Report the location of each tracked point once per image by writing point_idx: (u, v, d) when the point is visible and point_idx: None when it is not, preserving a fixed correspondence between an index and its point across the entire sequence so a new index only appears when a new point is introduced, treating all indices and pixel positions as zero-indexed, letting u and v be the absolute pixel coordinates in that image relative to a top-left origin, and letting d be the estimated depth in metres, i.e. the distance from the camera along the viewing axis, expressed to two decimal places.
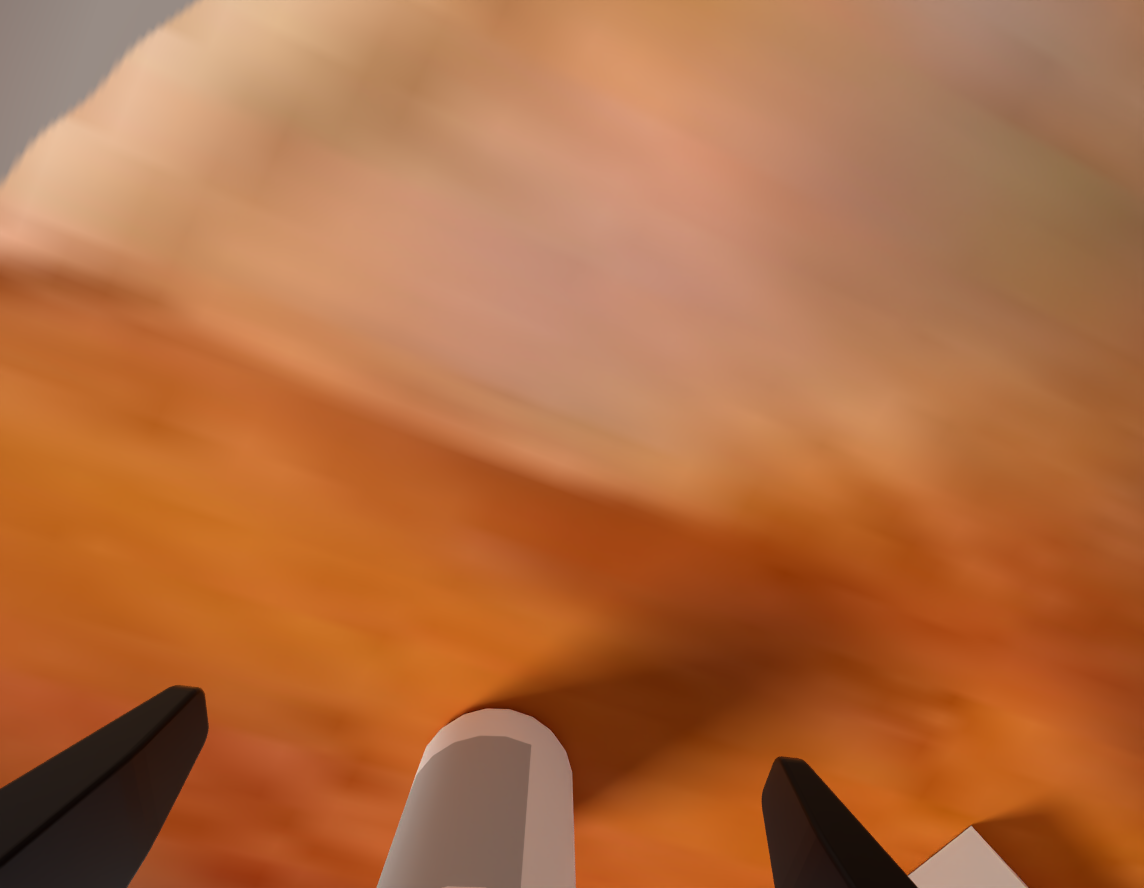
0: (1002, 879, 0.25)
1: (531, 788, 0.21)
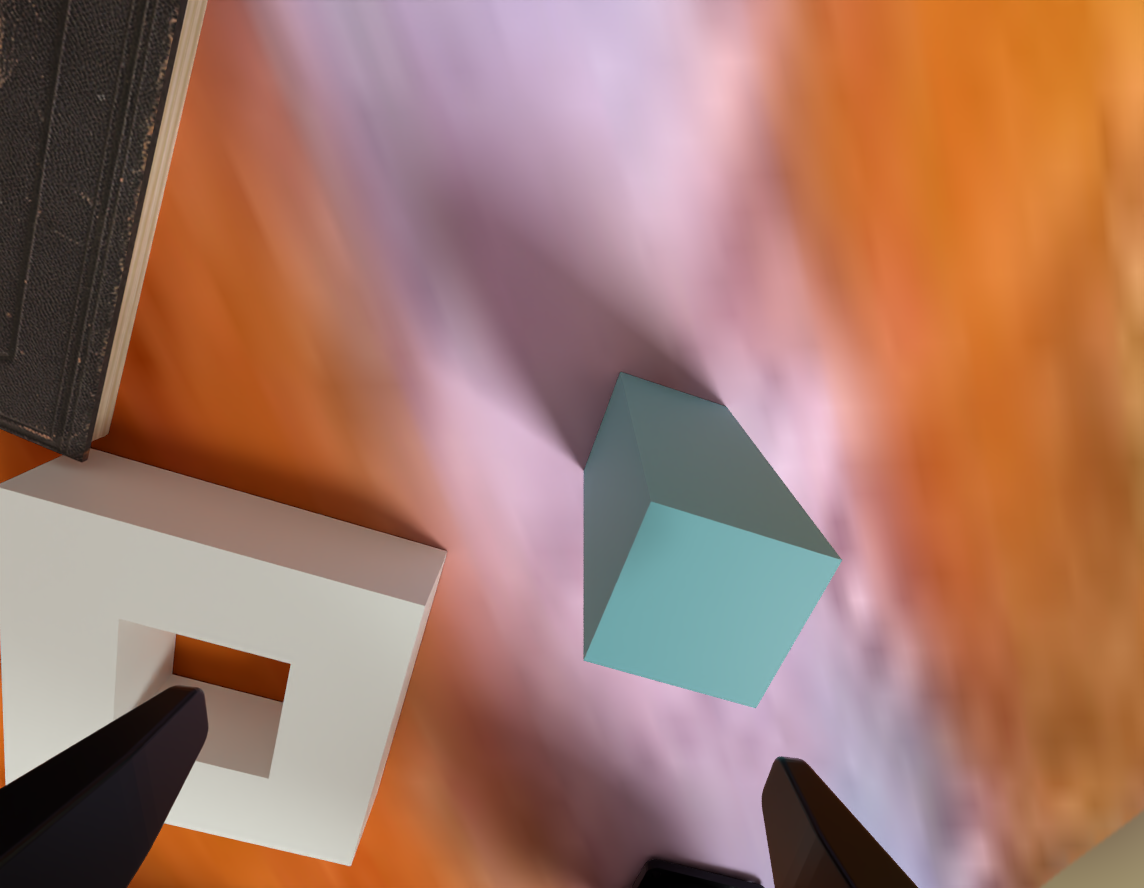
0: None
1: None
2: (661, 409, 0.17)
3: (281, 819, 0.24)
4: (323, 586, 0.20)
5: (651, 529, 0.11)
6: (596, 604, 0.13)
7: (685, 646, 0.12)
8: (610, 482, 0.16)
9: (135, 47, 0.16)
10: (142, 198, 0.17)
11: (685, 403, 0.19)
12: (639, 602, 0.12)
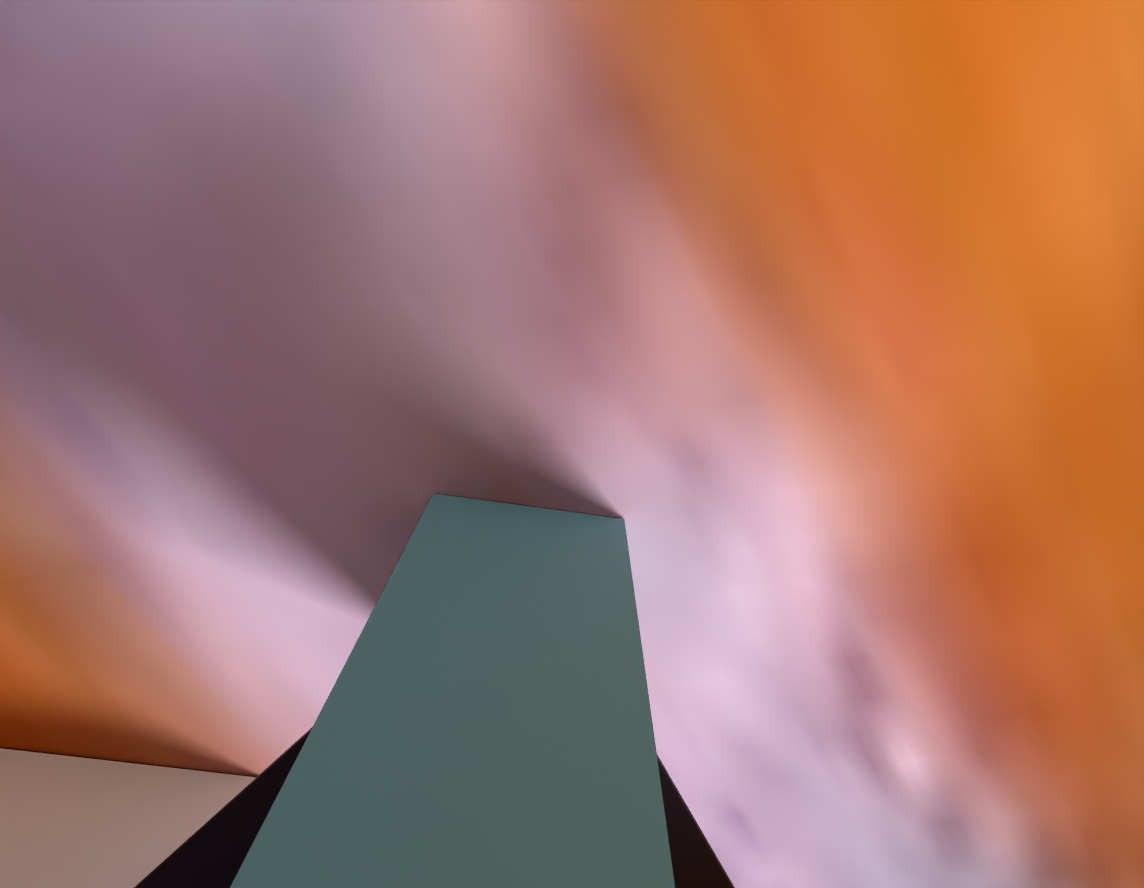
0: None
1: None
2: (456, 596, 0.09)
3: None
4: None
5: None
6: None
7: None
8: None
9: None
10: None
11: (532, 546, 0.11)
12: None
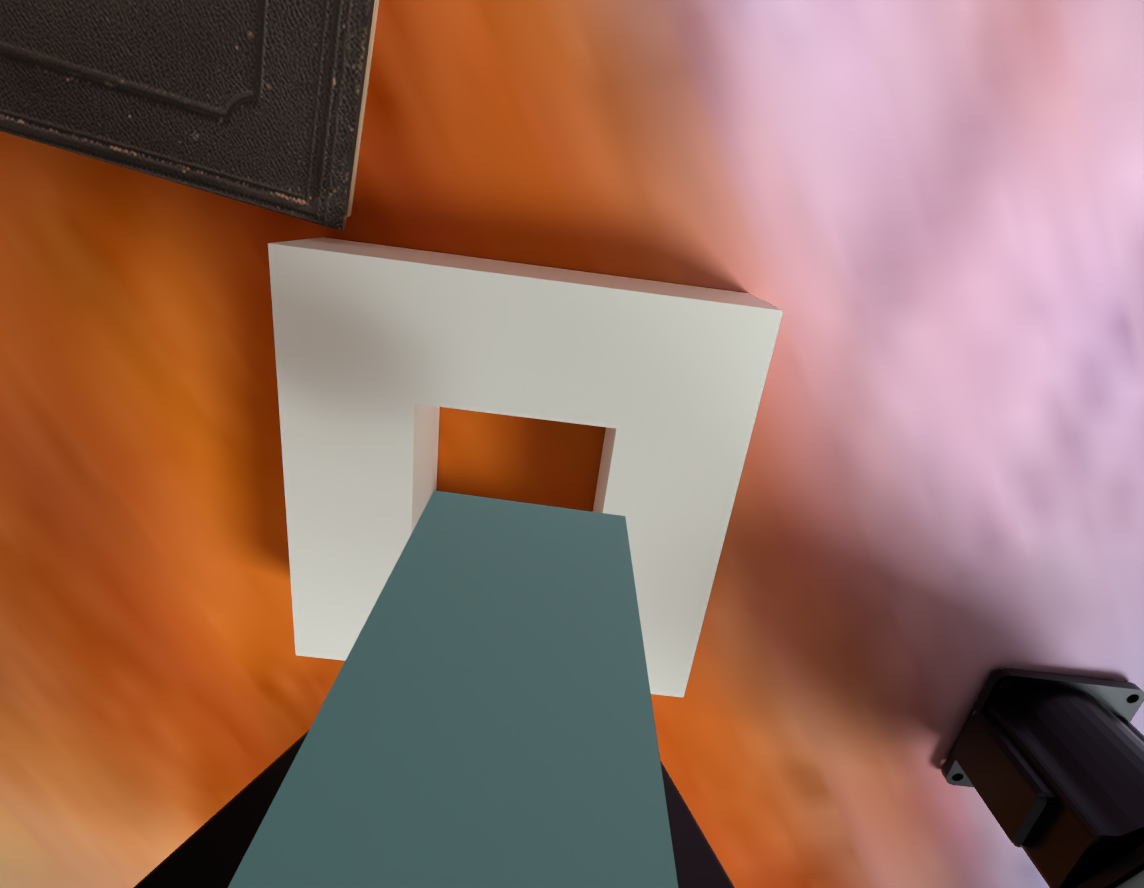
0: None
1: None
2: (457, 592, 0.09)
3: None
4: (658, 307, 0.16)
5: None
6: None
7: None
8: None
9: None
10: None
11: (533, 543, 0.11)
12: None
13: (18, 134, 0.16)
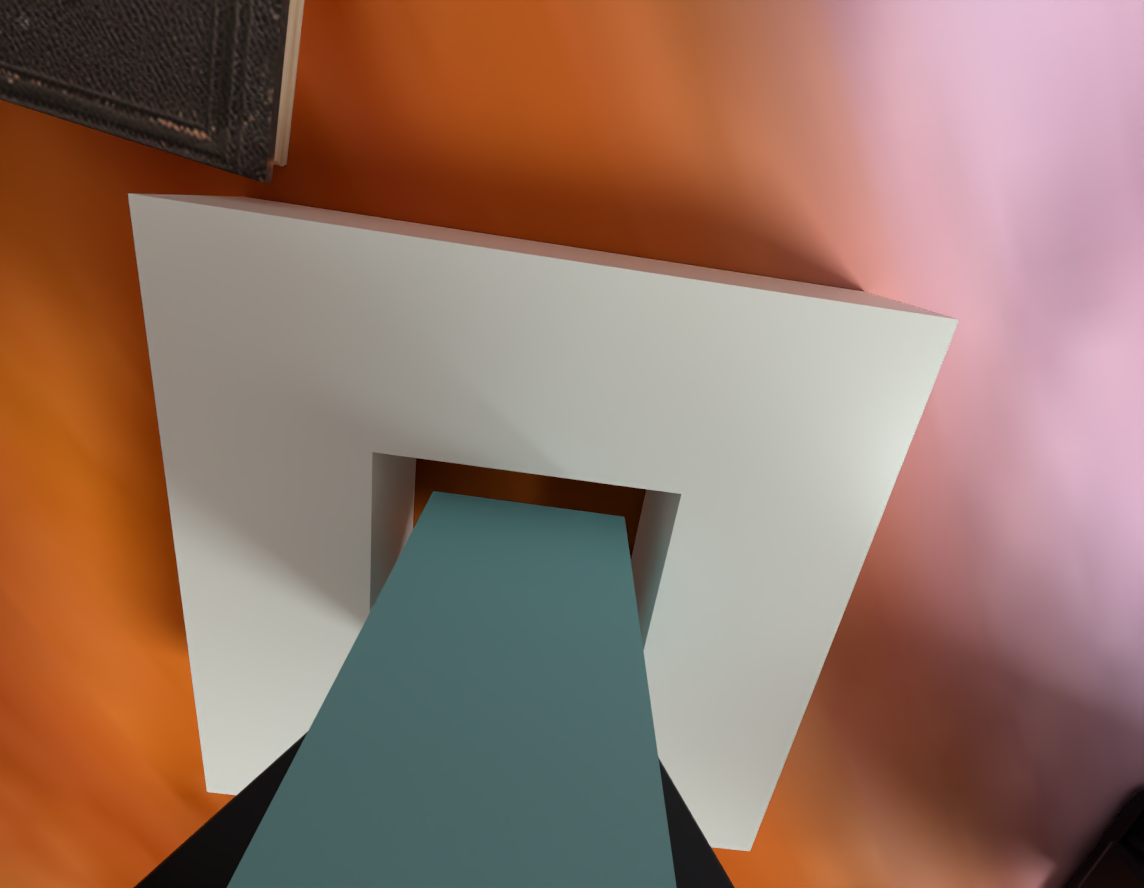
0: None
1: None
2: (456, 593, 0.09)
3: None
4: (760, 310, 0.10)
5: None
6: None
7: None
8: None
9: None
10: None
11: (532, 543, 0.11)
12: None
13: None
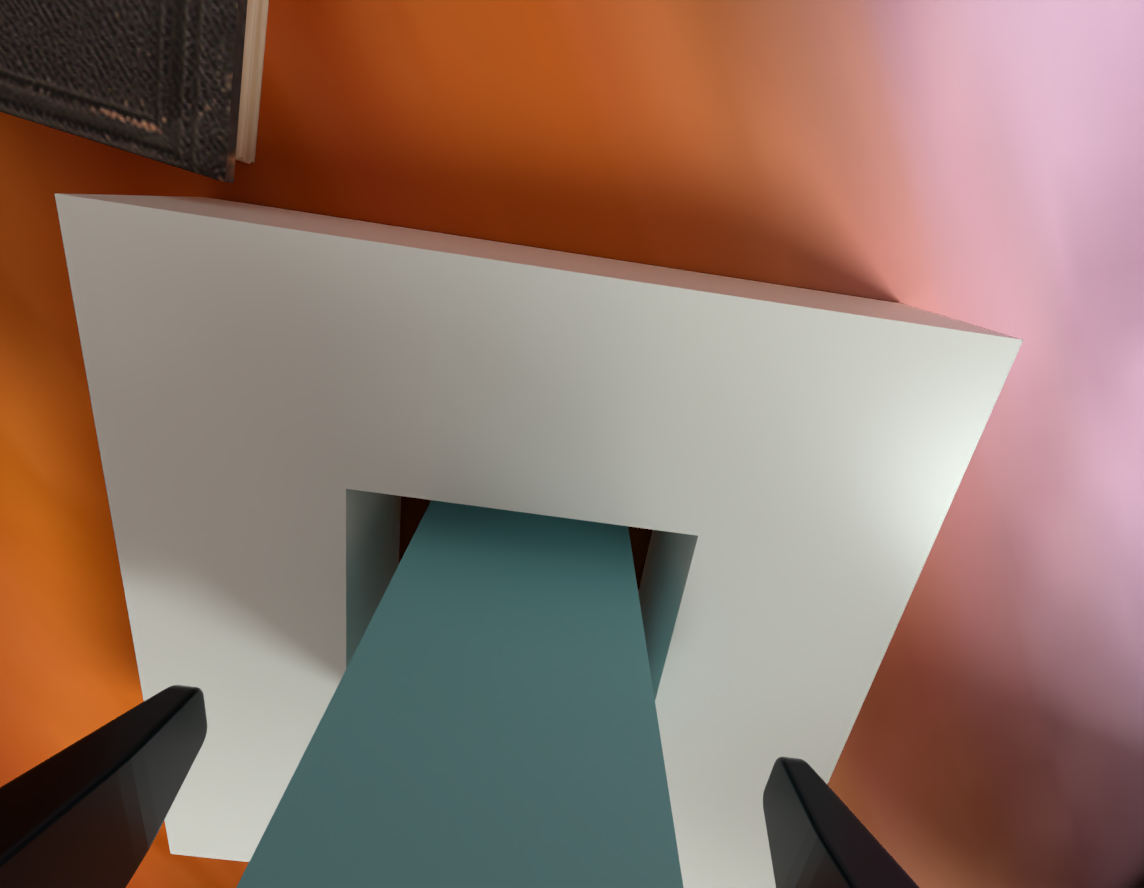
0: None
1: None
2: (475, 543, 0.10)
3: None
4: (792, 329, 0.09)
5: None
6: None
7: None
8: None
9: None
10: None
11: None
12: None
13: None
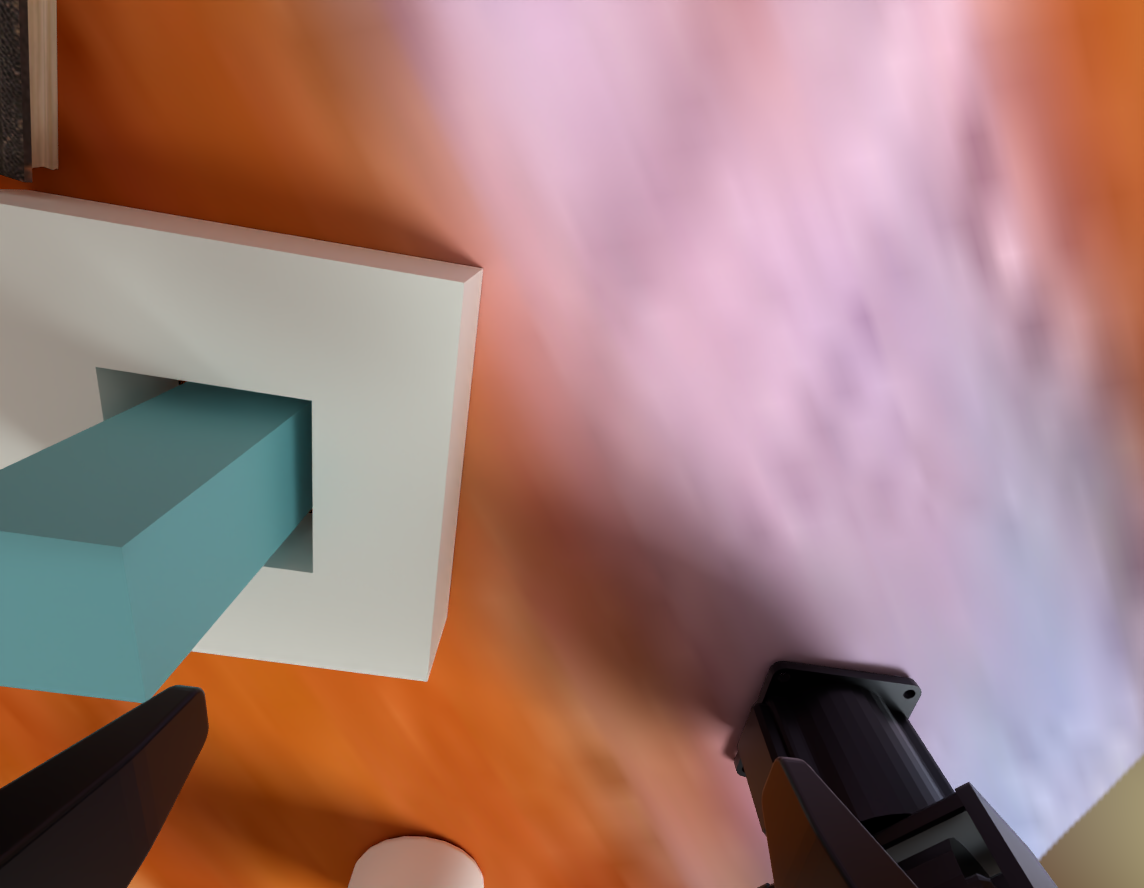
0: None
1: None
2: (185, 406, 0.17)
3: (337, 628, 0.20)
4: (333, 273, 0.15)
5: None
6: None
7: (35, 653, 0.12)
8: None
9: None
10: None
11: (252, 394, 0.19)
12: None
13: None
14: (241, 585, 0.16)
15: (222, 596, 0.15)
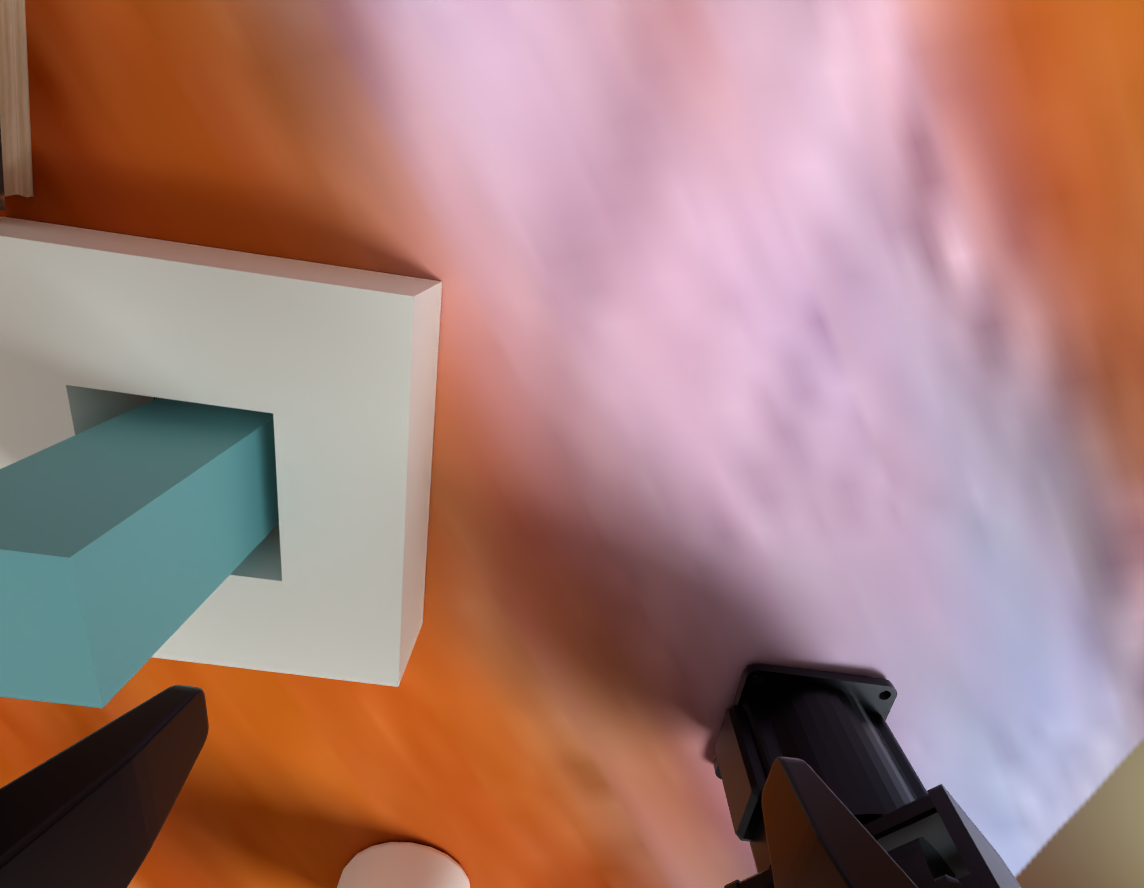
0: None
1: None
2: (153, 421, 0.18)
3: (308, 635, 0.20)
4: (287, 290, 0.16)
5: None
6: None
7: None
8: None
9: None
10: None
11: (221, 408, 0.19)
12: None
13: None
14: (205, 594, 0.17)
15: (184, 605, 0.16)
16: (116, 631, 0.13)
